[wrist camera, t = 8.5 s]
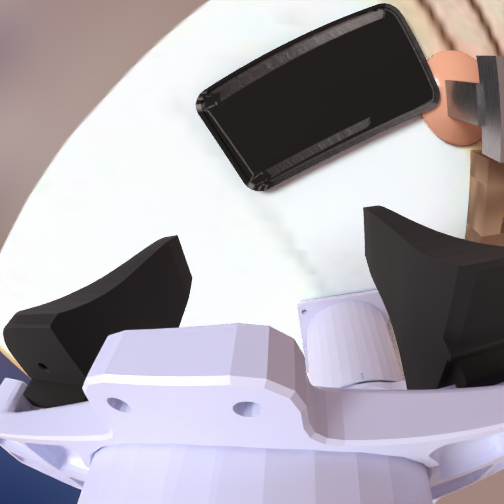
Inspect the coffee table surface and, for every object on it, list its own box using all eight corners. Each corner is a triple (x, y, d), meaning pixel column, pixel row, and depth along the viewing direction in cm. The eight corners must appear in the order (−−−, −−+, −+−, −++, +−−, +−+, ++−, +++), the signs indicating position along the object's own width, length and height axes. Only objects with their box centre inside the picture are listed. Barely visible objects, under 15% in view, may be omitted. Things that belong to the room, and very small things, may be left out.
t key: (476, 138, 18) (525, 162, 13) (448, 139, 18) (496, 162, 13) (470, 59, 15) (523, 61, 10) (441, 56, 15) (491, 55, 10)
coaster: (494, 143, 18) (497, 145, 18) (420, 146, 19) (422, 147, 19) (488, 55, 15) (491, 55, 14) (409, 48, 16) (411, 47, 15)
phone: (189, 100, 18) (393, -1, 13) (193, 99, 19) (387, 2, 14) (253, 198, 21) (445, 104, 17) (255, 192, 22) (438, 102, 18)
